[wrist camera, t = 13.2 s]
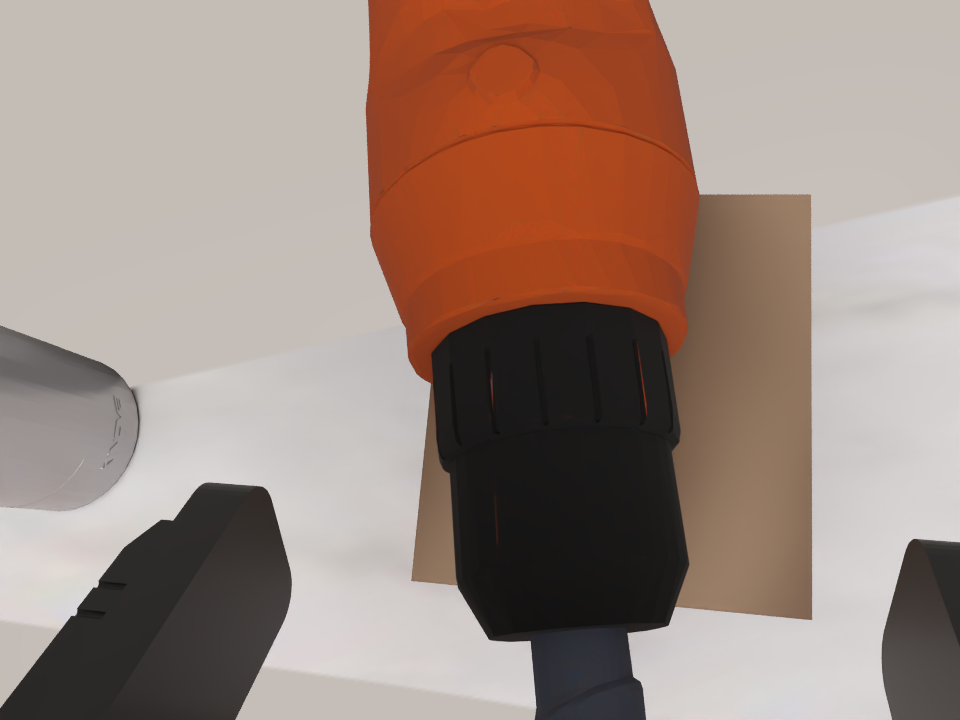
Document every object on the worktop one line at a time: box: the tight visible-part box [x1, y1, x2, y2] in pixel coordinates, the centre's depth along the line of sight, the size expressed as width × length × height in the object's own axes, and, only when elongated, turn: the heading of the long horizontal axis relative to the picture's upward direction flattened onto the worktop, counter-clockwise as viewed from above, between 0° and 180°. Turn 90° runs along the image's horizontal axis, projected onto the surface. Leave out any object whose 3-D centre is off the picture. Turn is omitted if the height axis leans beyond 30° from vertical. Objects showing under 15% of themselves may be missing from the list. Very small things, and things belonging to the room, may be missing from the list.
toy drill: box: [366, 0, 699, 720], centre depth 14 cm, size 5×19×15 cm, turn 5°
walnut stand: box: [411, 195, 812, 620], centre depth 33 cm, size 10×11×22 cm
